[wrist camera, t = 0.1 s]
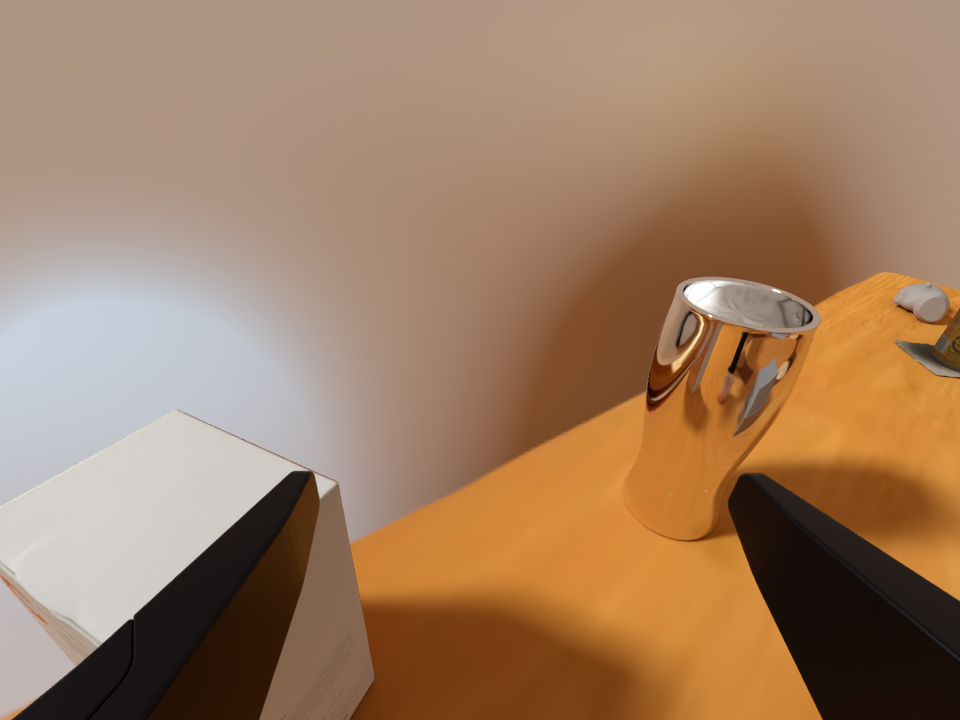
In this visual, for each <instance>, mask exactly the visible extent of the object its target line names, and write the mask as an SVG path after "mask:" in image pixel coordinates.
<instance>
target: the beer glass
mask: <svg viewBox="0 0 960 720" xmlns="http://www.w3.org/2000/svg"><path fill="white" fill-rule="evenodd" d="M820 322H821V316H820V314H819V312H818V311H817V310H816V309H815V308H814V307H813V306H812V305H810V304H809V303H807V302H806V301H804V300H802V299H800V298H799V297H797V296H795V295H792V294H790V293H788V292H785V291H782V290H779V289H777V288H774V287H771V286H767V285H763V284H760V283H756V282H751V281H745V280H740V279H732V278H724V277H700V278H694V279H689V280H686V281H684V282H682V283H681V284H680V285H678V287H677V290H676V294H675V297H674V300H673V302H672V305H671V307H670V310H669V312H668V315H667V317H666V320H665V322H664V325H663V328H662V330H661V333H660V336H659V339H658V342H657V345H656V348H655V352H654V355H653V358H652V363H651V367H650V371H649V376H648V383H647V390H646V401H645V414H644V430H643V440H642V445H641V449H640V452H639V455H638V458H637V460H636V462H635V463H634V465H633V467H632V468H631V470H630V471H629V473H628V475H627V477H626V478H625V481H624V483H623V488H622V493H623V499H624V502H625V504H626V506H627V508H628V510H629V511H630V512H631V514H632V515H633V516H634V517H635V518H636V519H637V520H638V521H639V522H640V523H641V524H643V525H644V526H646V527H647V528H649V529H650V530H652V531H654V532H656V533H658V534H660V535H662V536H665V537H668V538H672V539H677V540H696V539H699V538H702V537H704V536H706V535H708V534H709V533H710V532H711V531H712V530H713V529H714V527H715V525H716V523H717V520H718V515H719V510H720V503H721V498H722V494H723V491H724V489H725V486H726V484H727V483H728V481H729V479H730V478H731V476H732V475H733V474H734V472H735V471H736V470H737V468H738V467H739V466H740V465H741V463H742V462H743V461H744V460H745V459H746V458H747V456H748V455H749V454H750V453H751V452H752V450H753V449H754V448H755V447H756V445H757V444H758V443H759V442H760V441H761V439H762V438H763V437H764V436H765V434H766V433H767V432H768V430H769V429H770V427H771V426H772V424H773V423H774V422H775V420H776V419H777V417H778V416H779V414H780V412H781V411H782V409H783V407H784V405H785V403H786V402H787V400H788V398H789V396H790V394H791V392H792V390H793V388H794V385H795V383H796V381H797V379H798V377H799V374H800V372H801V369H802V367H803V364H804V362H805V359H806V357H807V354H808V351H809V348H810V345H811V343H812V340H813V337H814V335H815V332H816V330H817V327H818V326H819V324H820Z"/></svg>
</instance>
